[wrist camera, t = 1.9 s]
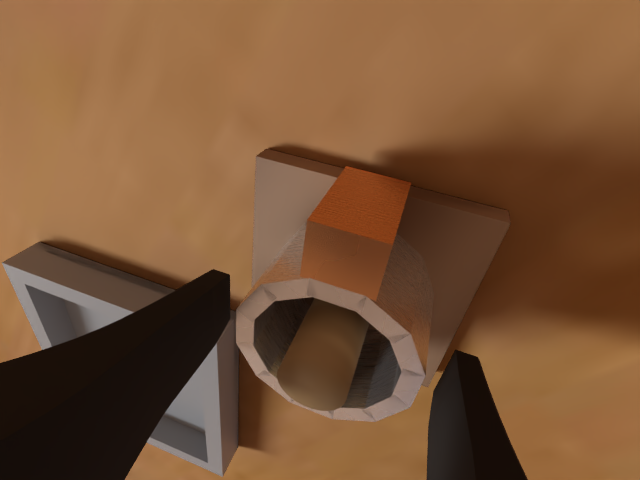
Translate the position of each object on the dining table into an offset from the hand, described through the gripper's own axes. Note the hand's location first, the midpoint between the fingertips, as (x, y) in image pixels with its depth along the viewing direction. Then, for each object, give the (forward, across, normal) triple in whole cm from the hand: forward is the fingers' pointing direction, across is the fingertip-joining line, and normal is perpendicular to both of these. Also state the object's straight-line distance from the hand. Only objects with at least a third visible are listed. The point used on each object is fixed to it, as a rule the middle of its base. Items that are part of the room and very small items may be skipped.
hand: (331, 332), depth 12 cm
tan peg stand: (+3, 0, 0) cm, 3 cm away
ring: (+2, 0, 0) cm, 3 cm away
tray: (+3, +11, +11) cm, 16 cm away
